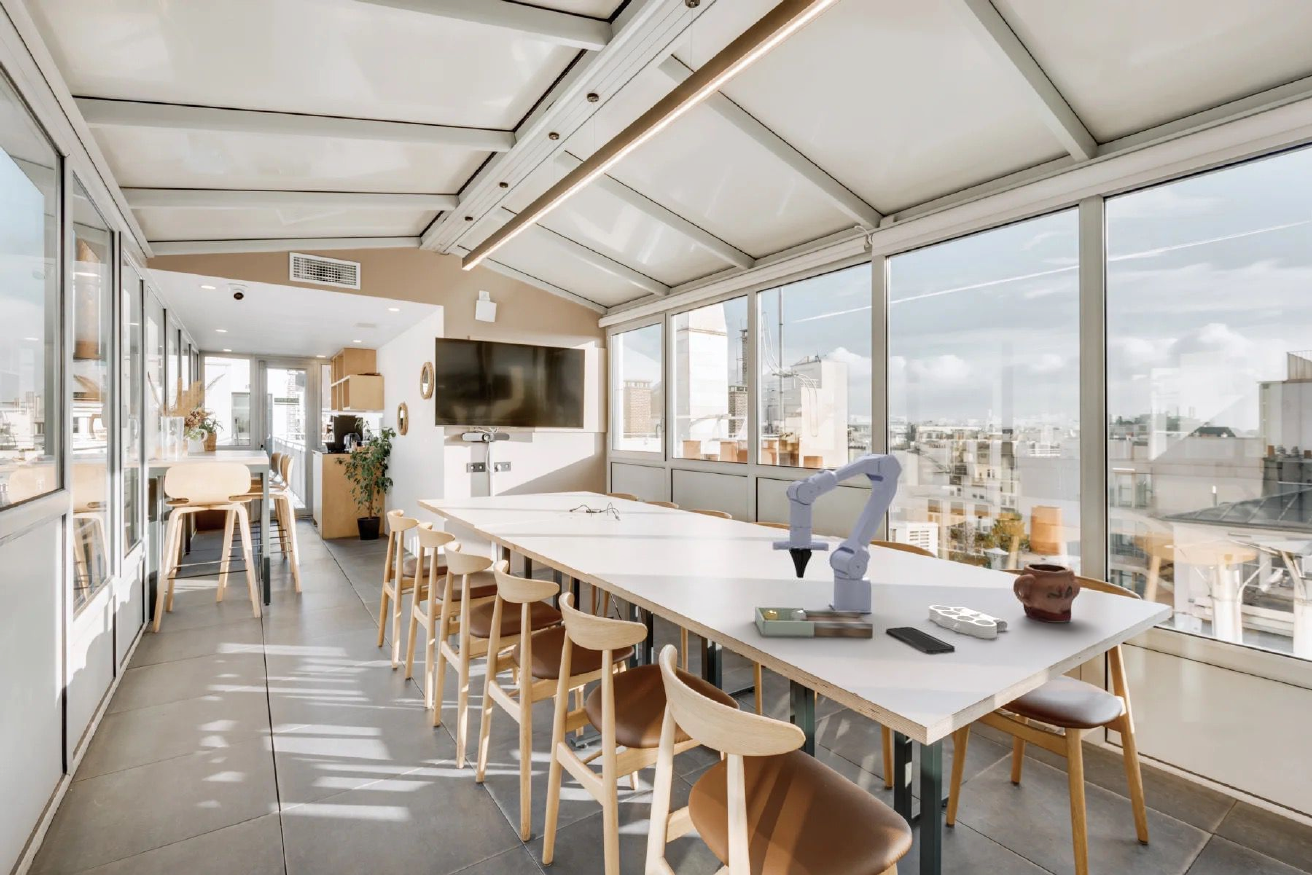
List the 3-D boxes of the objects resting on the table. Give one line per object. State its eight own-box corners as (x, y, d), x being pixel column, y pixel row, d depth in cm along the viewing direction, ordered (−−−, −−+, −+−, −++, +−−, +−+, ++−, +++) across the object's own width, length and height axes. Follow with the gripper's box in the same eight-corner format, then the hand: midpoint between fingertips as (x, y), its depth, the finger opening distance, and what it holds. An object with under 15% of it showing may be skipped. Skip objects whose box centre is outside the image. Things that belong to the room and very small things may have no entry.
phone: (911, 626, 148) (957, 647, 134) (911, 631, 148) (957, 652, 134) (883, 628, 146) (927, 650, 132) (883, 633, 146) (927, 655, 132)
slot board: (858, 623, 152) (859, 610, 152) (872, 637, 142) (872, 623, 142) (803, 622, 152) (803, 609, 152) (812, 635, 142) (813, 622, 142)
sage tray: (802, 621, 153) (802, 607, 153) (813, 637, 142) (814, 622, 142) (755, 620, 153) (755, 606, 153) (762, 636, 142) (762, 621, 142)
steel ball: (784, 621, 149) (798, 629, 149) (792, 620, 145) (806, 629, 146) (791, 606, 151) (804, 614, 151) (798, 605, 147) (812, 614, 147)
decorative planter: (1039, 630, 149) (1040, 574, 149) (995, 616, 160) (996, 564, 160) (1092, 622, 157) (1094, 568, 156) (1047, 609, 168) (1048, 559, 168)
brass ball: (779, 621, 149) (775, 605, 149) (782, 627, 145) (778, 611, 145) (763, 624, 149) (759, 609, 149) (765, 631, 146) (762, 615, 145)
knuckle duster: (1019, 635, 146) (975, 642, 141) (957, 614, 163) (915, 620, 157) (1019, 621, 146) (975, 628, 141) (957, 602, 163) (915, 607, 157)
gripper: (776, 528, 157) (775, 580, 157) (832, 529, 157) (831, 581, 157) (771, 524, 164) (770, 573, 164) (824, 525, 164) (824, 574, 164)
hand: (799, 577), depth 161 cm, fingers closed
